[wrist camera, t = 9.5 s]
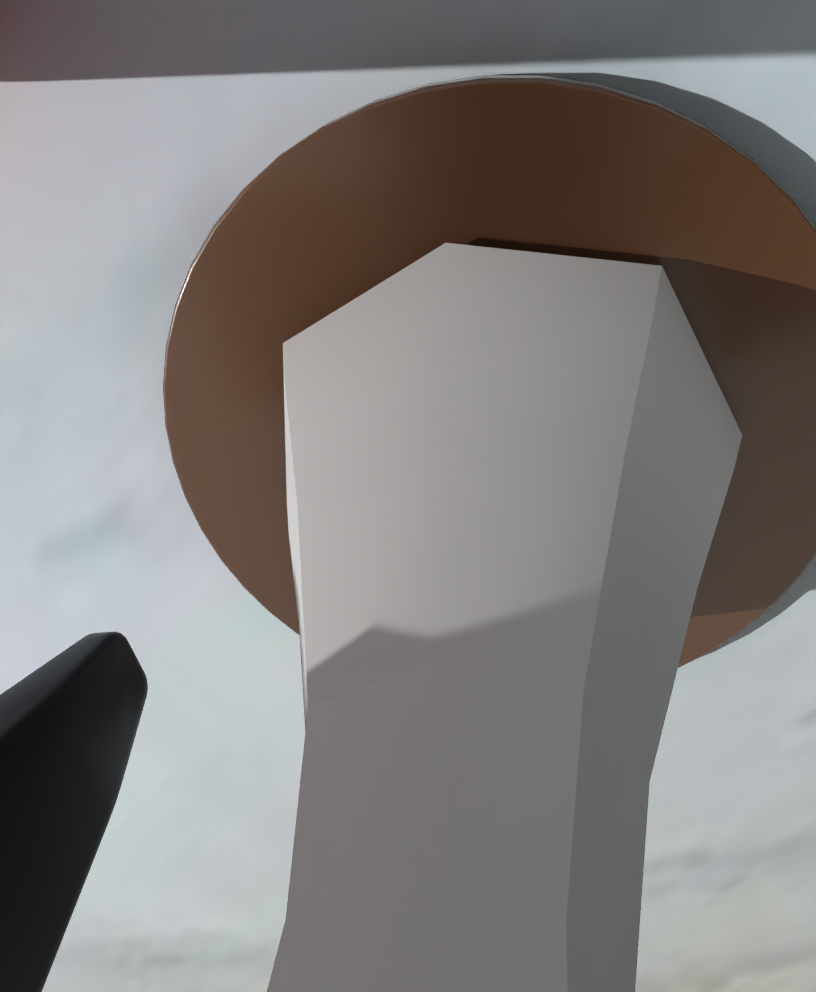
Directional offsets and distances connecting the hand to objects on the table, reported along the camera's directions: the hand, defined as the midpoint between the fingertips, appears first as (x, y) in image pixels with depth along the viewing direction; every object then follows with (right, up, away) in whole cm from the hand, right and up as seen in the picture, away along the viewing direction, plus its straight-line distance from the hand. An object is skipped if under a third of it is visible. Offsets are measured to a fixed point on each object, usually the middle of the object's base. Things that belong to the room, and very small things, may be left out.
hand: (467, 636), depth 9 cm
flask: (+1, +2, +3) cm, 4 cm away
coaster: (+1, +2, +4) cm, 5 cm away
